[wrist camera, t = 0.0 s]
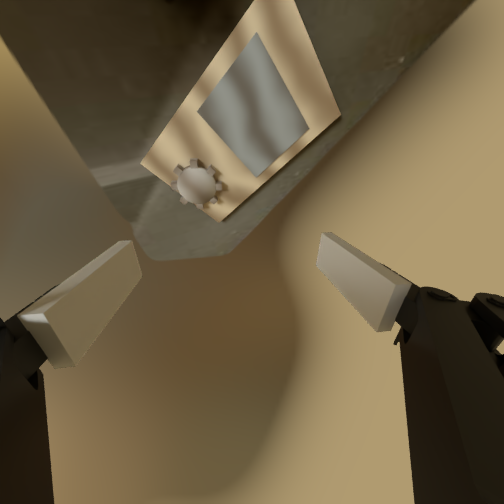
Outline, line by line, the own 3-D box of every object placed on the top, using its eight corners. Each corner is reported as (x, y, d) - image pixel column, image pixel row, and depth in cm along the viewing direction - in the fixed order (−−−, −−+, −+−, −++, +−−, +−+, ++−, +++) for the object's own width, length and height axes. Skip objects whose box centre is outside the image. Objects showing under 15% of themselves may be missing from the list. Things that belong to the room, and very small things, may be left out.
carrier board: (276, -31, 21) (282, -42, 19) (336, 113, 32) (345, 116, 30) (141, 162, 33) (135, 169, 31) (217, 220, 44) (217, 228, 42)
